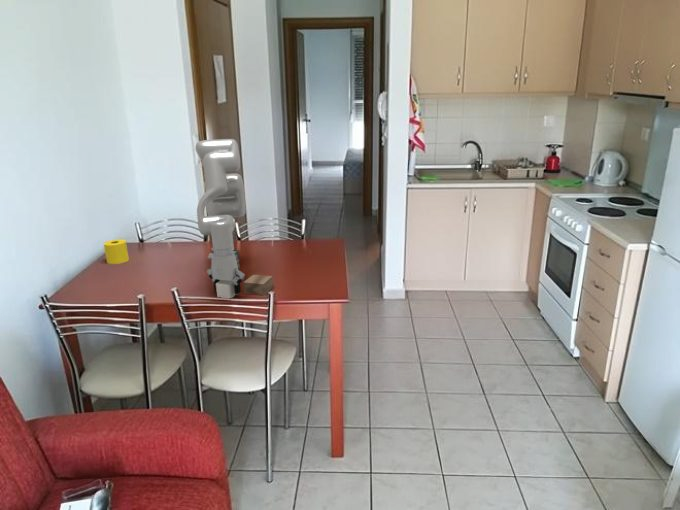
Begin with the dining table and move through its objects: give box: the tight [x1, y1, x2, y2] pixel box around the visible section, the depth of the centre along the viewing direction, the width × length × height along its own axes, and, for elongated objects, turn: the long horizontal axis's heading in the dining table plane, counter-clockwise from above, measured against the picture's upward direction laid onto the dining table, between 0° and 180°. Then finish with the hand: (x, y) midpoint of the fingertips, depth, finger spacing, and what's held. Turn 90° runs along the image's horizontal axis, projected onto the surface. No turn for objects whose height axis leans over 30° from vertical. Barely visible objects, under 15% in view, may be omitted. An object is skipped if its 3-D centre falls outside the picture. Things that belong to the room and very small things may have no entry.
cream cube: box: [216, 280, 237, 299], centre depth 211 cm, size 6×6×6 cm
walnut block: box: [242, 274, 275, 296], centre depth 215 cm, size 9×9×5 cm
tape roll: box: [103, 238, 130, 265], centre depth 257 cm, size 10×10×9 cm
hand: (227, 291), depth 211 cm, fingers open, 9 cm apart
